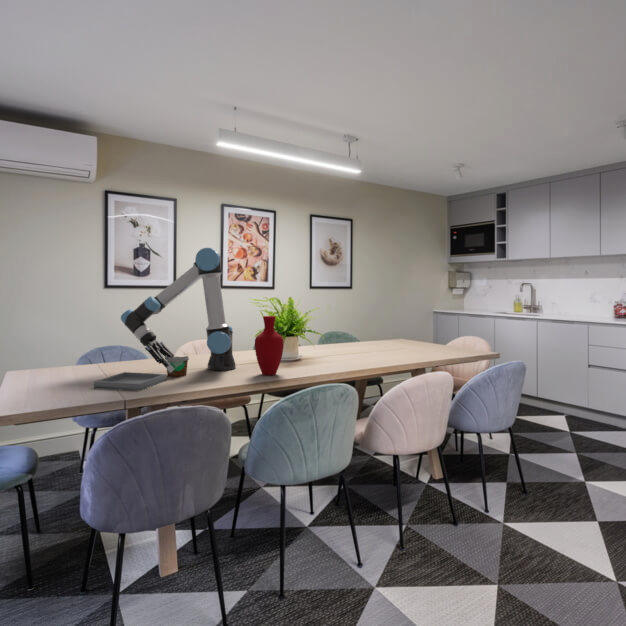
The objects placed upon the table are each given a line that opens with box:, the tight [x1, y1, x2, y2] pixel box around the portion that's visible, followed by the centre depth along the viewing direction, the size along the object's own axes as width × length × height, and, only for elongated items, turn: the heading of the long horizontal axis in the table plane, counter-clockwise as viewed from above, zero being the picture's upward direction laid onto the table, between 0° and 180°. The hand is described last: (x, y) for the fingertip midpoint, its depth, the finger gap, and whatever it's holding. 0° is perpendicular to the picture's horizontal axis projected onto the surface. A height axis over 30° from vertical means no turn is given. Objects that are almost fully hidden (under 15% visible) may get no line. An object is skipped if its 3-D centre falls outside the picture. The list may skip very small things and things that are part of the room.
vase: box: [254, 315, 285, 376], centre depth 227 cm, size 15×15×30 cm
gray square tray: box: [93, 371, 167, 391], centre depth 201 cm, size 22×22×3 cm
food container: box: [164, 355, 190, 378], centre depth 220 cm, size 12×6×10 cm, turn 82°
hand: (175, 369), depth 220 cm, fingers closed on food container, 6 cm apart
